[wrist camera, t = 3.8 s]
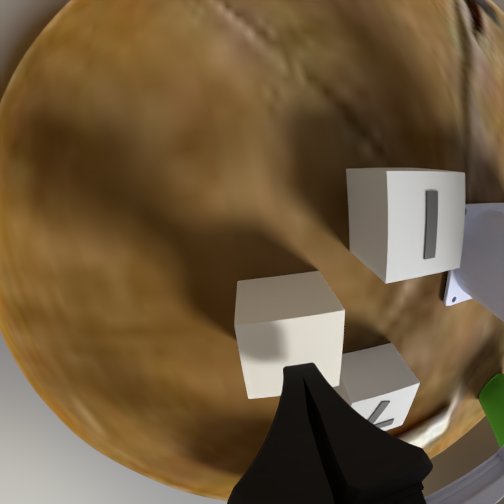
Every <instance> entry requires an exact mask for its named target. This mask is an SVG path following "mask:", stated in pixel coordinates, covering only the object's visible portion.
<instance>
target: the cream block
mask: <svg viewBox="0 0 504 504" xmlns="http://www.w3.org/2000/svg"><path fill="white" fill-rule="evenodd" d="M344 319H345V309H344V308H343V306H342V305H341V303H340V302H339V300H338V299H337V297H336V296H335V294H334V292H333V291H332V289H331V288H330V286H329V285H328V283H327V282H326V280H325V279H324V277H323V276H322V274H321V273H320V271H313V272H306V273H298V274H291V275H283V276H275V277H267V278H258V279H250V280H241V281H237V293H236V306H235V320H234V327H235V333H236V338H237V343H238V349H239V354H240V359H241V364H242V369H243V374H244V379H245V384H246V389H247V394H248V399H253V398H263V397H273V396H281V392H282V386H283V368H284V367H285V366H292V365H299V364H305V363H312V362H313V363H314V364H315V365H316V366H317V368H318V369H319V371H320V372H321V374H322V375H323V376H324V378H325V379H326V380H327V381H328V383H329V384H330V385H331V386H332V387H335V386H339V380H340V371H341V360H342V349H343V336H344Z"/></svg>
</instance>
